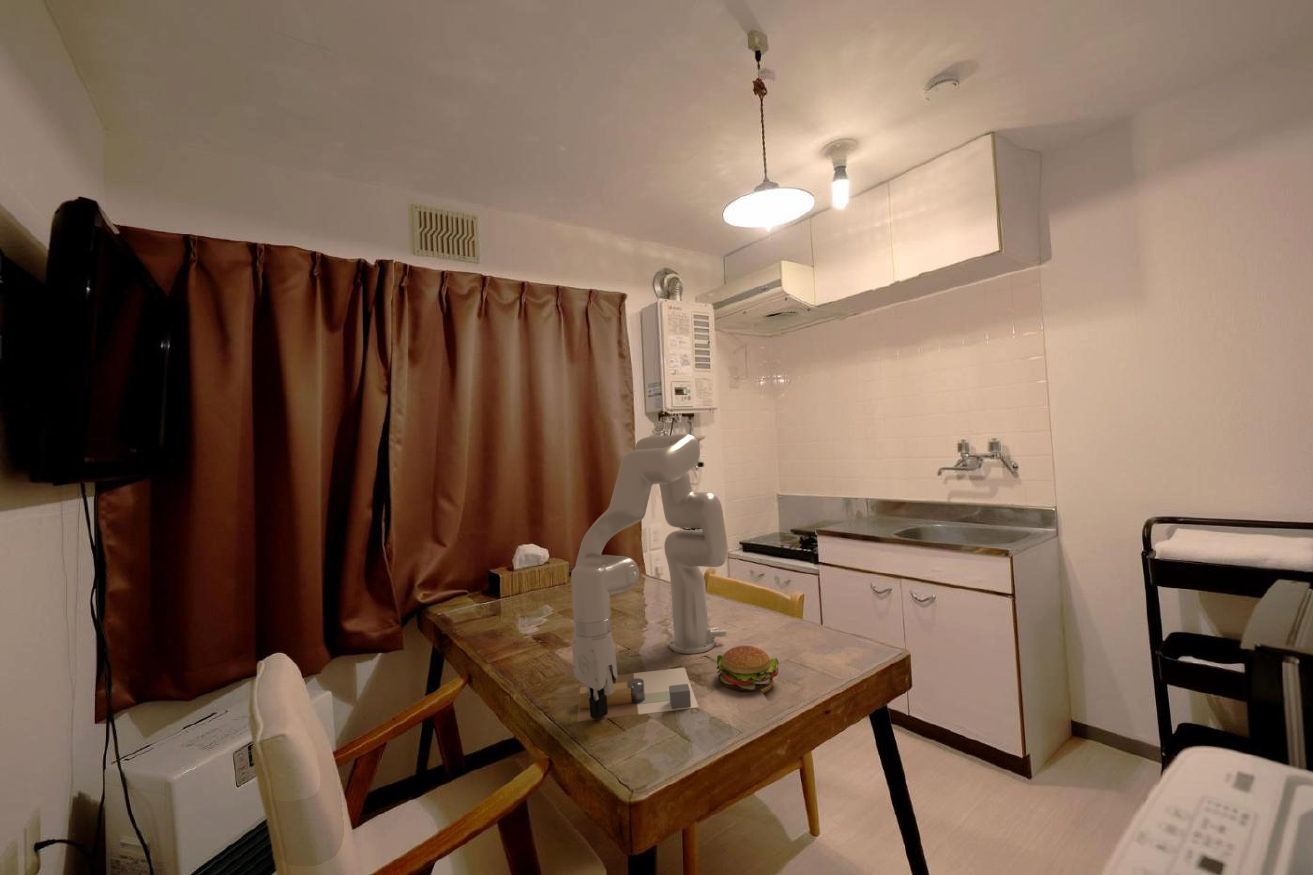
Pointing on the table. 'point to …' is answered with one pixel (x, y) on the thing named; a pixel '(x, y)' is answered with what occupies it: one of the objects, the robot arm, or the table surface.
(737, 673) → the food
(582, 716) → the door panel
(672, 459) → the robot arm
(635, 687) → the bar
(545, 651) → the table surface
